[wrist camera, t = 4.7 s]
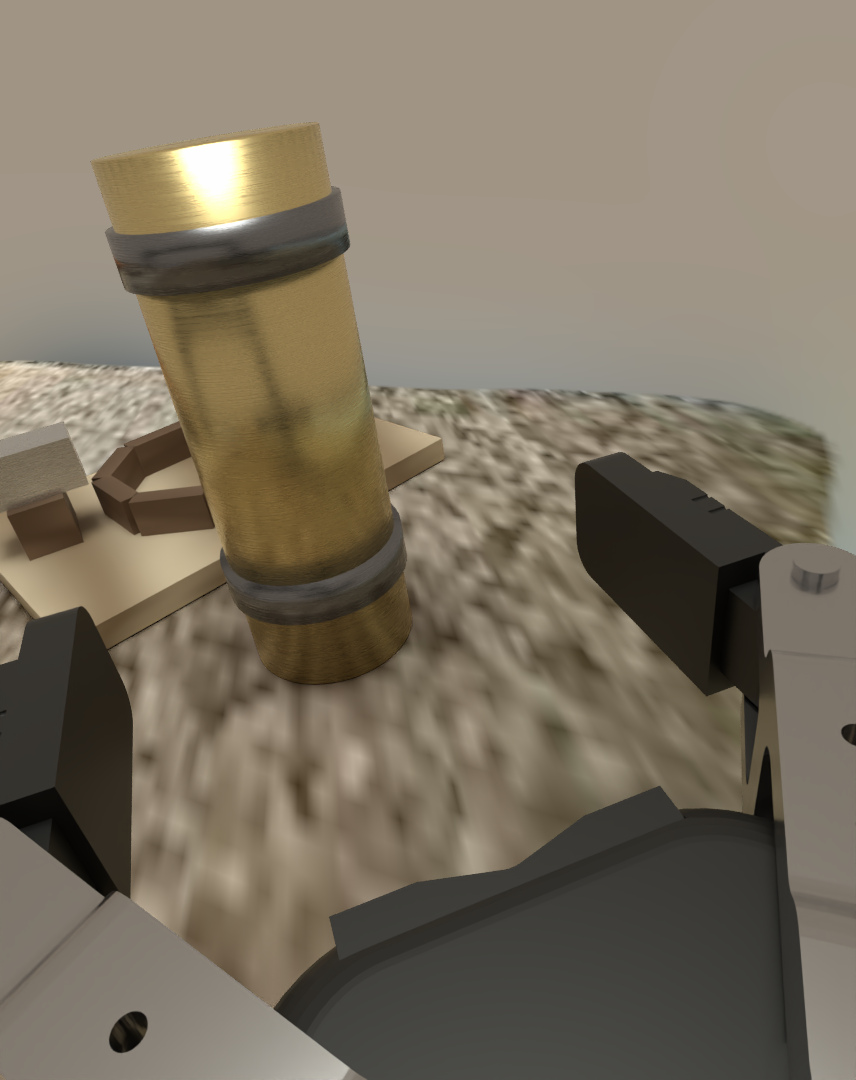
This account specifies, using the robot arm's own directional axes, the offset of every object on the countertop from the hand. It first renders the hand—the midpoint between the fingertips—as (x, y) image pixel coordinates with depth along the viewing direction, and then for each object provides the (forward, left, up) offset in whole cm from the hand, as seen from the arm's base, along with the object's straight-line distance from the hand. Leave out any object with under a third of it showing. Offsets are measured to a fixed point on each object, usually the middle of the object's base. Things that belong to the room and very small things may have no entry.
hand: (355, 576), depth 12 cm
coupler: (+4, +8, -8) cm, 12 cm away
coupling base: (+6, +20, -8) cm, 22 cm away
